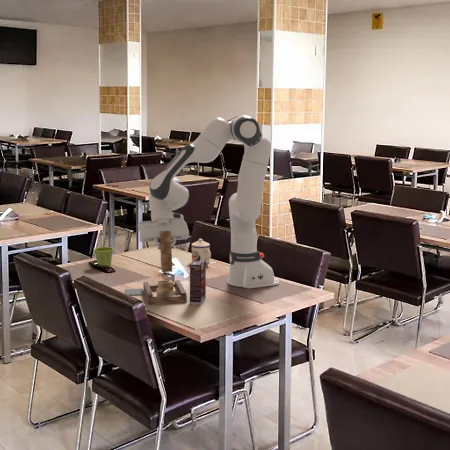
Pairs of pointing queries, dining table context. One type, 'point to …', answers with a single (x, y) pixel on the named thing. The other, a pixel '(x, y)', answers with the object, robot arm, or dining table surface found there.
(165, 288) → the offcut top
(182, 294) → the tray
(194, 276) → the supplement box
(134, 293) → the mat
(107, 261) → the plant pot
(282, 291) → the dining table surface
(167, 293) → the offcut low
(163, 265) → the slat
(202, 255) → the teacup with lid
